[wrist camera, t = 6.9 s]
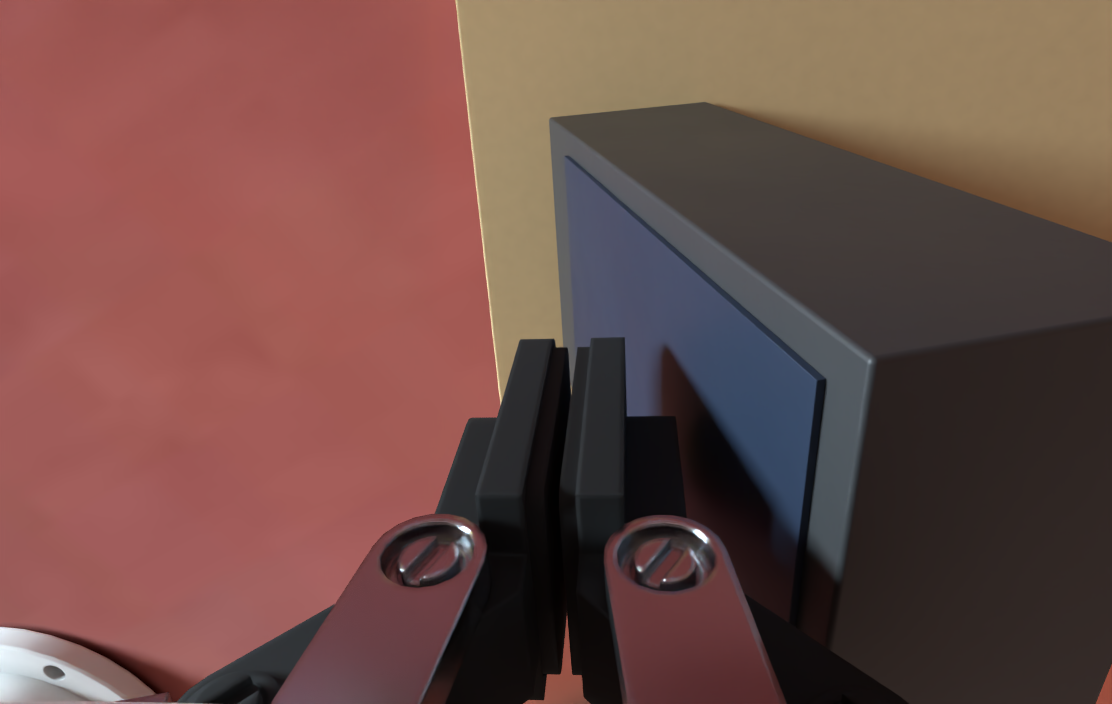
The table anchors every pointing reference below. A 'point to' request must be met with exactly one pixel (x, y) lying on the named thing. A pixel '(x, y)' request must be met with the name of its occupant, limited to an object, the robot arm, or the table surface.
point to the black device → (861, 391)
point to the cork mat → (787, 104)
